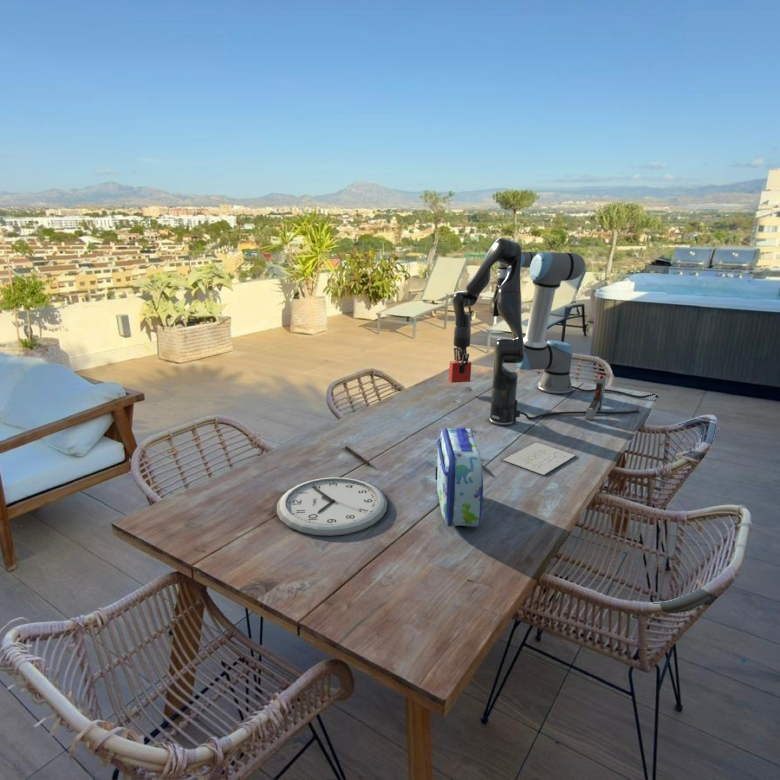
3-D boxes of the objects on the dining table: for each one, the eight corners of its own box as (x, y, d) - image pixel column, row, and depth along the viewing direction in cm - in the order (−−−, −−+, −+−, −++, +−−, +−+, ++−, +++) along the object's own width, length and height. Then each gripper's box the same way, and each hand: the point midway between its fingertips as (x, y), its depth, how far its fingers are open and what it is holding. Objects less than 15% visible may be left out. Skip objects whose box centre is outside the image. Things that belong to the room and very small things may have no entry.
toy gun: (589, 383, 206) (600, 373, 217) (585, 421, 211) (596, 408, 223) (595, 384, 204) (606, 374, 215) (590, 422, 210) (602, 410, 221)
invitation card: (535, 442, 186) (575, 454, 176) (535, 442, 187) (575, 455, 176) (502, 459, 172) (543, 474, 162) (502, 460, 172) (543, 475, 162)
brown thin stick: (344, 448, 179) (344, 445, 179) (346, 448, 179) (346, 445, 179) (367, 464, 167) (367, 462, 167) (368, 464, 167) (368, 461, 167)
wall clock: (392, 527, 129) (268, 531, 127) (391, 533, 130) (269, 537, 127) (383, 473, 158) (282, 475, 155) (383, 478, 158) (282, 480, 156)
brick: (448, 380, 246) (449, 361, 243) (467, 379, 248) (468, 360, 245) (451, 382, 242) (452, 363, 239) (470, 381, 244) (471, 362, 241)
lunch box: (433, 484, 155) (436, 418, 148) (469, 485, 155) (474, 419, 148) (440, 534, 130) (444, 457, 124) (483, 535, 130) (489, 458, 124)
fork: (483, 474, 162) (483, 469, 161) (463, 454, 176) (463, 448, 176) (491, 474, 162) (491, 468, 162) (470, 453, 177) (470, 447, 176)
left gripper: (449, 332, 244) (447, 368, 249) (460, 339, 231) (457, 376, 236) (464, 332, 246) (462, 367, 251) (475, 338, 233) (473, 375, 238)
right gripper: (487, 275, 281) (484, 314, 287) (508, 279, 258) (504, 322, 264) (500, 275, 283) (497, 314, 289) (522, 279, 259) (518, 322, 266)
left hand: (460, 371), depth 244 cm, fingers closed on brick, 4 cm apart
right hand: (501, 318), depth 277 cm, fingers open, 13 cm apart
